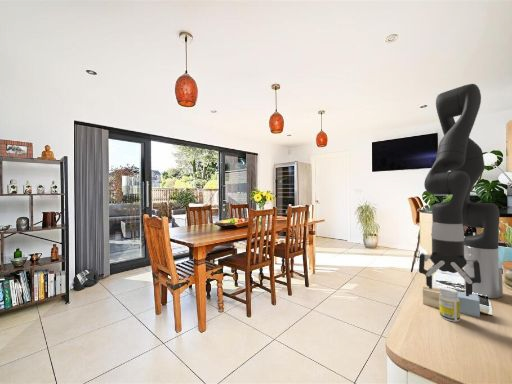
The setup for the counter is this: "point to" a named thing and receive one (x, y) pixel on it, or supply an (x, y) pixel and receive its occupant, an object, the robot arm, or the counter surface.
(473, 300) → the slate cube
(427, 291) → the beech cube
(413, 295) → the counter surface
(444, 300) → the supplement bottle
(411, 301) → the counter surface
